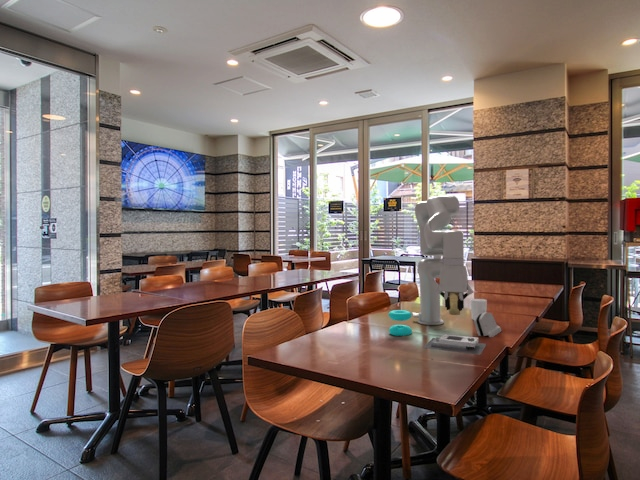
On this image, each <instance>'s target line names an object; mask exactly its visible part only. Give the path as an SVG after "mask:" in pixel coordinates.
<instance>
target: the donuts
mask: <svg viewBox="0 0 640 480" xmlns="http://www.w3.org/2000/svg"><path fill="white" fill-rule="evenodd" d="M388 317H389V319H390V320H393V321H396V322H397V321H399V322H404V321H405V322H406V321H409V320H410V319H411V318H412V317H413V316H412V312H410V311H408V310H405V309H404V310H403V309H394V310H390V311H389V312H388ZM388 332H389V334H390V335H392V336H395V337H403V336H410V335H411V334H412V333H413V329H412V328H411V327H410V326H409V325H406V324H405V325H404V324H393V325H391V326H390V327H389V328H388Z"/></svg>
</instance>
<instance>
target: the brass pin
mask: <svg viewBox="0 0 640 480" xmlns="http://www.w3.org/2000/svg"><path fill="white" fill-rule="evenodd" d="M459 300H460V296H459V293H457V292H449V310H448V314H449V315H452V316H458V315H460V314H461V311H459Z"/></svg>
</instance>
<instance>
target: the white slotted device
mask: <svg viewBox="0 0 640 480" xmlns="http://www.w3.org/2000/svg"><path fill="white" fill-rule="evenodd" d="M473 323H474V326H475V331H476V334H477V336H478V337H485V336H488V338H494V337H495V336H497V335H498V334H500V333H502V331H503V330H502V327H501V326H499V325H497V322H496V320H495V317H494V315H493V313H491V312H486V313H482V314H479V315H477V316H476V317H475V319H474V320H473Z"/></svg>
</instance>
